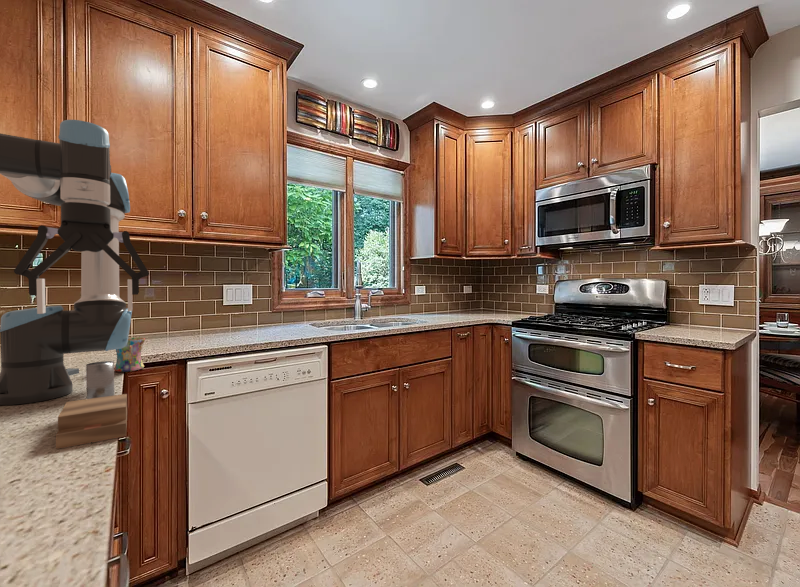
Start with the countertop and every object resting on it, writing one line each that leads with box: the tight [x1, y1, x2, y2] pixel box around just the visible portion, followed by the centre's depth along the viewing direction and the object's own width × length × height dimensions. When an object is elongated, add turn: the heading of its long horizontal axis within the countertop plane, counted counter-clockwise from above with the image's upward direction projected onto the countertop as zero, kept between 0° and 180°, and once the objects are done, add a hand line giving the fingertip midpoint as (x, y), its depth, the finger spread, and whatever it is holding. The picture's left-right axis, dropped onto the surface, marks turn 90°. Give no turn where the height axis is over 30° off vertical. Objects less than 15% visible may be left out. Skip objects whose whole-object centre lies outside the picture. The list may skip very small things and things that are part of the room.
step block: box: [55, 393, 128, 450], centre depth 75 cm, size 14×10×5 cm
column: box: [85, 360, 115, 399], centre depth 87 cm, size 5×5×11 cm
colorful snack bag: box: [114, 337, 146, 373], centre depth 127 cm, size 12×9×11 cm
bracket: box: [66, 367, 80, 377], centre depth 119 cm, size 4×10×2 cm, turn 177°
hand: (88, 312), depth 75 cm, fingers open, 13 cm apart
